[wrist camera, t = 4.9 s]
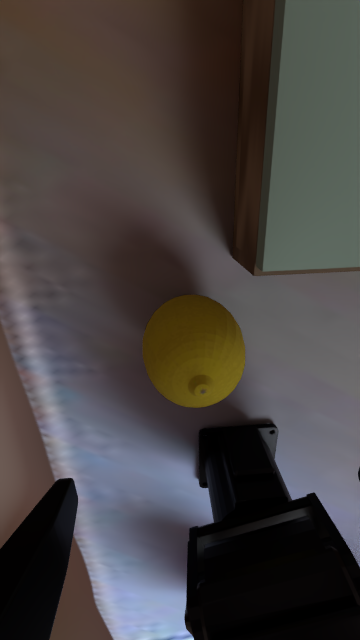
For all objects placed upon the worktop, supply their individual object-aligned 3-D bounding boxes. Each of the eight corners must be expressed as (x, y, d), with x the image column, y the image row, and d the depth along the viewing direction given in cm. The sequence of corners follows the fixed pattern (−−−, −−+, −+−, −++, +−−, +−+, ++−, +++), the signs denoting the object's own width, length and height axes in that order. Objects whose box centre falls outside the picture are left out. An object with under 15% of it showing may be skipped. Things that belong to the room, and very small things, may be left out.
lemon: (181, 367, 21) (193, 458, 14) (128, 315, 19) (109, 388, 12) (242, 321, 20) (290, 394, 13) (192, 261, 18) (214, 306, 11)
